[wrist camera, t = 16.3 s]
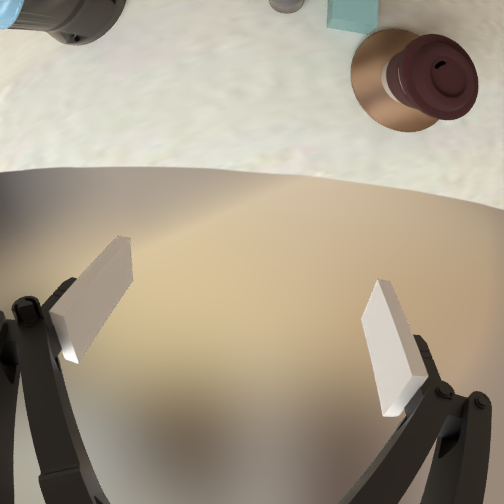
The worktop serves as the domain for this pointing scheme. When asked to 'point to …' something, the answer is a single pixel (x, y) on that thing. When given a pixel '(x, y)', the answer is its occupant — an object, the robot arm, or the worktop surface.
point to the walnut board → (371, 88)
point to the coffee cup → (432, 77)
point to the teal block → (353, 15)
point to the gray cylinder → (286, 5)
